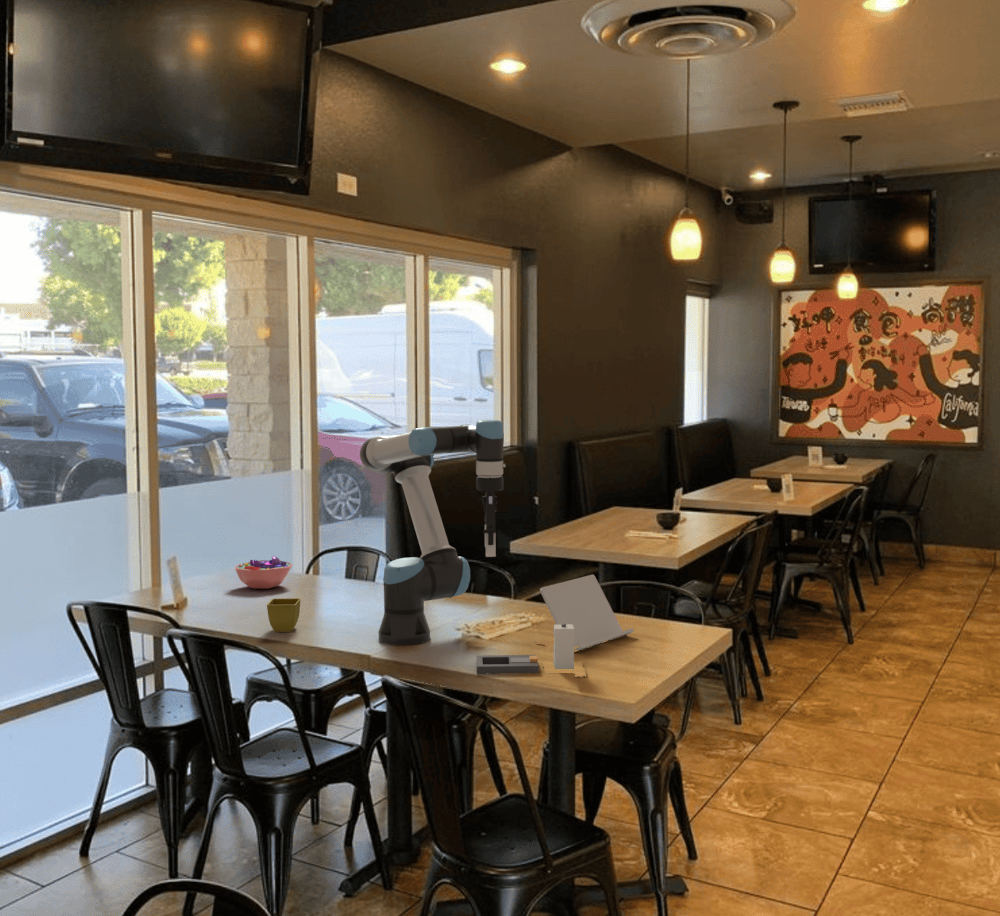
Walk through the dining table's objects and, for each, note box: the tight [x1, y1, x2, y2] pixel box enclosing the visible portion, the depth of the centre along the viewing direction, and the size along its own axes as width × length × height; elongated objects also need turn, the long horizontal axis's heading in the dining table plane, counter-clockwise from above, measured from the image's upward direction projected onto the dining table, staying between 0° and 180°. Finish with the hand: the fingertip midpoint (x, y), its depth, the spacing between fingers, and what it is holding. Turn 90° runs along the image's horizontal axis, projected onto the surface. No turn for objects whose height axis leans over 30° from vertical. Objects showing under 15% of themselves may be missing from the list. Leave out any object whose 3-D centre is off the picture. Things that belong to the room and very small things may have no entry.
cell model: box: [234, 555, 293, 590], centre depth 378 cm, size 17×20×11 cm
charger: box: [553, 624, 575, 669], centre depth 279 cm, size 5×4×12 cm
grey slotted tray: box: [476, 654, 540, 675], centre depth 279 cm, size 16×10×4 cm, turn 92°
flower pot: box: [266, 597, 301, 633], centre depth 321 cm, size 9×9×9 cm
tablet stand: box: [539, 574, 635, 651], centre depth 309 cm, size 18×25×17 cm
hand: (490, 551), depth 294 cm, fingers open, 13 cm apart
